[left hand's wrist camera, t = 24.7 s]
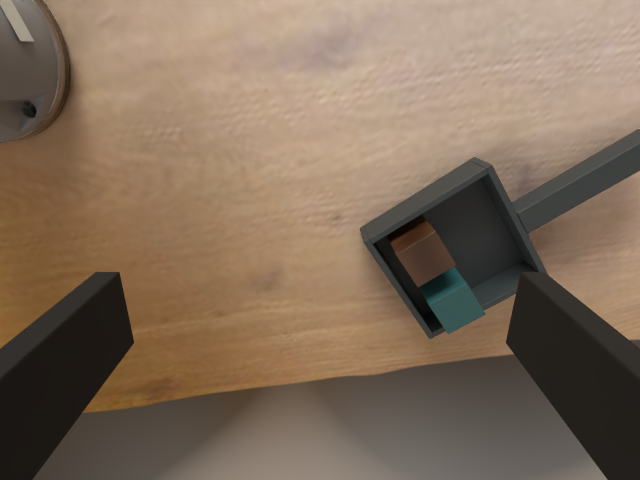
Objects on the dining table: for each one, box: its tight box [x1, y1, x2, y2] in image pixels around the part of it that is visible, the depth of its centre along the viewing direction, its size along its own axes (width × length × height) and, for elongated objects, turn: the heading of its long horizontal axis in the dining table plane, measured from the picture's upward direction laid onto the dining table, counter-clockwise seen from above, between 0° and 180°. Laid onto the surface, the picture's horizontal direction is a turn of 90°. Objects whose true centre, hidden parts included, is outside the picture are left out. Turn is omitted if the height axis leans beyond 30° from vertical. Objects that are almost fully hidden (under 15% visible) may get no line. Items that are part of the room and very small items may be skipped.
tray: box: [360, 129, 640, 339], centre depth 37 cm, size 26×13×4 cm, turn 124°
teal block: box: [420, 267, 485, 334], centre depth 39 cm, size 4×4×6 cm
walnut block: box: [387, 214, 456, 287], centre depth 37 cm, size 4×4×6 cm
